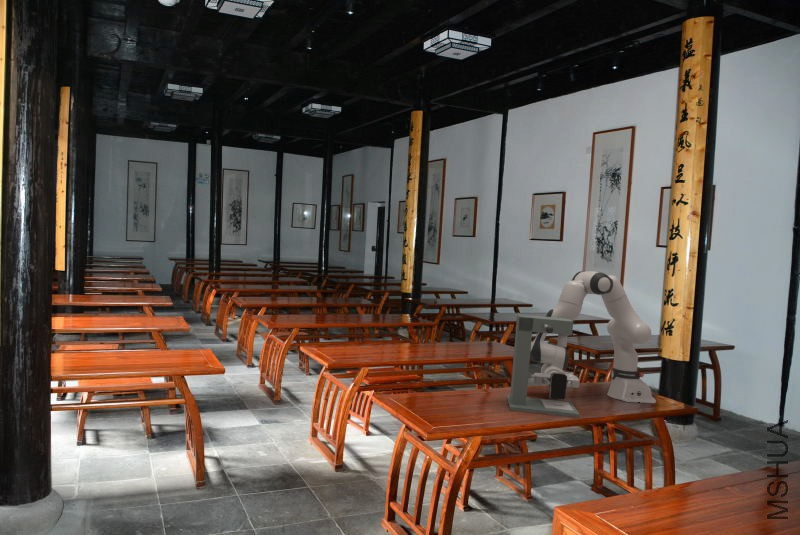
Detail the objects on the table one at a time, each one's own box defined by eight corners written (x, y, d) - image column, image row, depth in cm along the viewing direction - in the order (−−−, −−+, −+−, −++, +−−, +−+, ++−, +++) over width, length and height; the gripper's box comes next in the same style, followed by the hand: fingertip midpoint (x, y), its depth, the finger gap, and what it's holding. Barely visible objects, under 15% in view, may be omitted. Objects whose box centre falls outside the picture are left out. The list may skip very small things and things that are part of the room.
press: (570, 404, 270) (578, 318, 268) (582, 422, 242) (591, 326, 241) (506, 398, 273) (514, 312, 271) (511, 415, 245) (519, 320, 243)
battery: (563, 397, 262) (565, 372, 262) (565, 400, 258) (568, 374, 258) (547, 396, 262) (550, 371, 262) (549, 398, 258) (552, 373, 258)
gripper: (531, 368, 274) (535, 374, 260) (576, 372, 272) (582, 379, 258) (530, 381, 274) (533, 388, 260) (575, 386, 272) (581, 393, 258)
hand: (558, 384), depth 259 cm, fingers closed on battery, 7 cm apart
